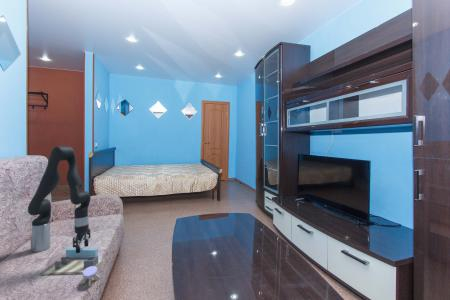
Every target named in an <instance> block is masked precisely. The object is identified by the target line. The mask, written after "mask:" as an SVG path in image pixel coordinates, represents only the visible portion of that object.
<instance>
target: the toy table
mask: <svg viewBox="0 0 450 300" xmlns="http://www.w3.org/2000/svg"><path fill="white" fill-rule="evenodd" d="M97 273H98V267H95V266H90V267H88V268H86V269H85V270H84V271H83V274H82V276H83V277H82V279H81V280H80V281H79V285H83V284H86V283H87V280H88V287H91V286H92V279H93V280H94V281H98V280H101V276H100V275H98V274H97Z"/></svg>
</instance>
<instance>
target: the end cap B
mask: <svg viewBox="0 0 450 300" xmlns="http://www.w3.org/2000/svg"><path fill="white" fill-rule="evenodd" d="M98 260H99V255H98V256H89V257H88V258H87V259H85V261H84V268H88V267H90V266H96V265H97V264H98Z"/></svg>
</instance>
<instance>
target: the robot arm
mask: <svg viewBox="0 0 450 300" xmlns="http://www.w3.org/2000/svg"><path fill="white" fill-rule="evenodd" d="M76 158H77V156H76V153H75V150H74V149H73V147H71V146H68V145H67V146H66V145H65V146H62V145H57V146H55V147H53V148H52V150H51V152H50V155H49V157H48V162H47V165H46V168H45V170H44V173H43V175H42V178H41V179H40V182H39V185H38V186H37V189H36V191H35V193H34V195H33V196H32V198H31V200H30V202H29V204H28V206H27V213H28V214H29V215H30V216H37V217H35V218H34V219H33V220H31V236H30V252H34V253H39V252H44V251H46V250H48V249H51V227H50V225H51V224H50V222H51V217H52V216H51V215H52V204H51V200H49V199H48V198H47V196H49V195H50V194H51V193H53V191H55V189H56V188H57V187H58V185H59V182H60V180H61V176H60V175H61V173H60V172H59V169H58V167H59V163H60V162H61V161H66V162H67V163H68V170H67V174H66V182H67V184H68V186H69V195H70V197H69V198H70V199H69V200H70V202H71V204H73V205H75V206H76V205H79V206H78V207H76V208H75V209H74V211H73V212H74V220H73V222H74V224H73V225H74V227H73V228H74V233H75V235H76V236H74V237H73V238H72V248H76V253H80V248H81V245H82V243H83V242H84V244H83V245H84V247H85V248H86V247H89V240H90V239H91V235H92V234H91V229H90V226H89V225H90V224H89V222H90V221H89V220H90V219H89V207H90V201H91V194H90V192H89V191H87V190H85V191H81V192H79V190H81V189H83V187H84V184H83V181H82V179H81V176H80V172H79V169H78V164H77V163H78V162H77V159H76Z"/></svg>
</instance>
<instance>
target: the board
mask: <svg viewBox="0 0 450 300" xmlns="http://www.w3.org/2000/svg"><path fill="white" fill-rule="evenodd" d="M85 260H86V259H85ZM85 260H67V264H66V265H61V268H60V269H55V262H53V263H52V264H51V265H49V266H48V267H46V268H45V269H43V270H42V271H40V273H39V275H40V276H46V275H47V276H49V275H50V274H58V275H83V271H84V270H85V269H86V268H84V261H85ZM103 261H104V260H103V259H98V264H97V265H96V266H95V267H97V268H99V267H100V266H101V265H102V264H103Z"/></svg>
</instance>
